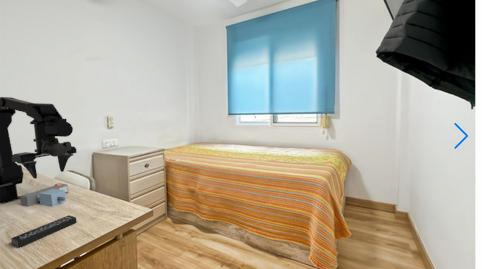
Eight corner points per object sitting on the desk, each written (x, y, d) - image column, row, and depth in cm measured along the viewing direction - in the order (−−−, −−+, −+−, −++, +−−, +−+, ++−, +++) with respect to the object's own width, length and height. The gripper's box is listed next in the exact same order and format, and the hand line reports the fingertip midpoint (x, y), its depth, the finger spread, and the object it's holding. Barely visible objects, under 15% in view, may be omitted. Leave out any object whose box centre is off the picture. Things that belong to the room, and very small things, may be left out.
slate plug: (37, 204, 87) (36, 192, 86) (51, 199, 92) (50, 188, 91) (58, 207, 83) (56, 195, 83) (71, 202, 88) (70, 190, 88)
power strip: (21, 205, 86) (19, 193, 85) (62, 191, 100) (60, 181, 100) (28, 206, 85) (27, 194, 84) (68, 192, 99) (67, 182, 98)
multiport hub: (11, 245, 60) (10, 238, 60) (69, 221, 73) (68, 214, 73) (19, 249, 58) (18, 241, 58) (77, 223, 72) (76, 217, 71)
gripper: (29, 140, 71) (34, 184, 73) (84, 134, 89) (87, 170, 91) (8, 138, 75) (13, 181, 77) (65, 133, 92) (69, 168, 94)
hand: (49, 174), depth 84 cm, fingers open, 9 cm apart
